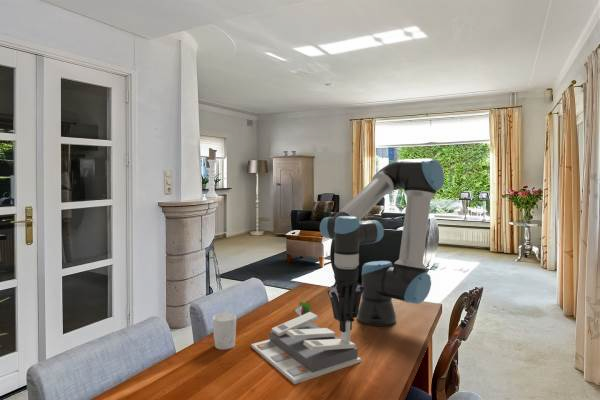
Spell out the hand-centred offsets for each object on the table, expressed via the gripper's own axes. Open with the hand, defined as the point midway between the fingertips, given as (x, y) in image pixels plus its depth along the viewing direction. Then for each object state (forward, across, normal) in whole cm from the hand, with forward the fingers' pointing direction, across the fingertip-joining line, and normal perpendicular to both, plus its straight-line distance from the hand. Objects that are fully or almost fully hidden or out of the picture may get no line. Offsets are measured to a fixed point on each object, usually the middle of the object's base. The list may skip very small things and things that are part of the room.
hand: (345, 341), depth 122 cm
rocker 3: (0, +6, 0) cm, 6 cm away
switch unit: (+6, +9, -10) cm, 15 cm away
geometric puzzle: (+6, -8, -36) cm, 37 cm away
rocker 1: (0, +6, -20) cm, 21 cm away
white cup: (+6, +28, -30) cm, 42 cm away
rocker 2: (0, +6, -10) cm, 12 cm away
